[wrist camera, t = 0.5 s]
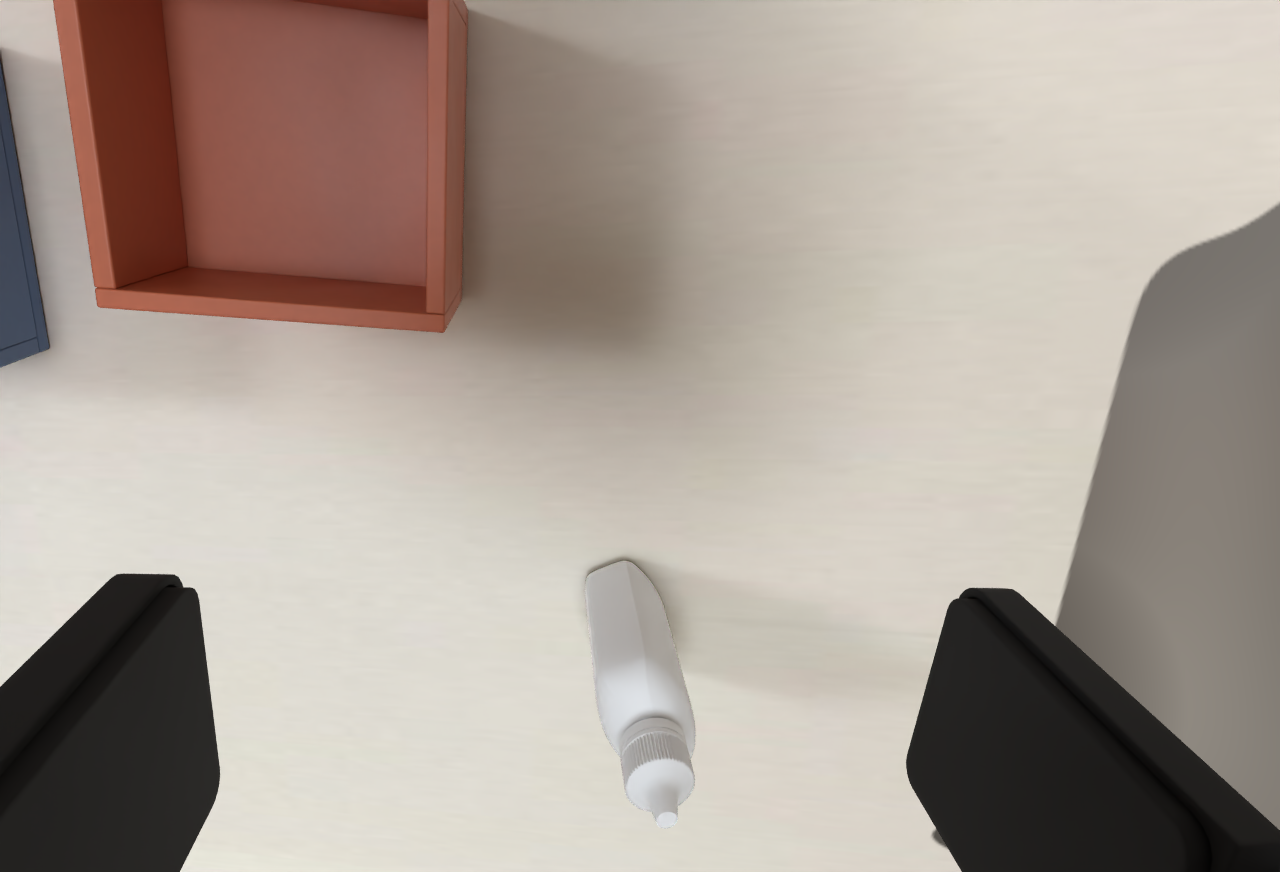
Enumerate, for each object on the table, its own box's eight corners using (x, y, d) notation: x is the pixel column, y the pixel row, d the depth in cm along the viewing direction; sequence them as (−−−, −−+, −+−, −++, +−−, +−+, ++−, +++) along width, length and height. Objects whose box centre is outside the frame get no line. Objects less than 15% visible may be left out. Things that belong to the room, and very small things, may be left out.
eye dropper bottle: (572, 656, 35) (588, 884, 24) (588, 553, 34) (612, 748, 22) (661, 660, 36) (715, 884, 25) (681, 560, 34) (749, 753, 23)
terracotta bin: (146, -37, 24) (38, -91, 19) (468, 8, 26) (449, -30, 20) (180, 279, 27) (96, 307, 22) (461, 301, 29) (444, 333, 24)
